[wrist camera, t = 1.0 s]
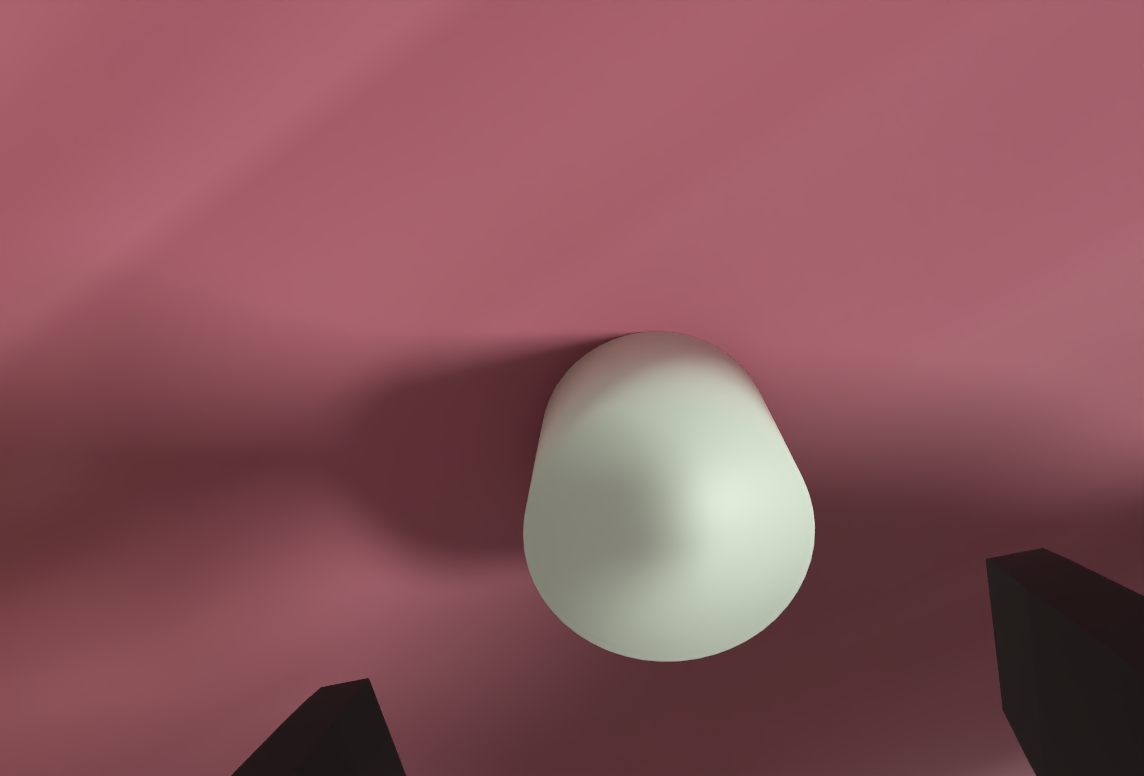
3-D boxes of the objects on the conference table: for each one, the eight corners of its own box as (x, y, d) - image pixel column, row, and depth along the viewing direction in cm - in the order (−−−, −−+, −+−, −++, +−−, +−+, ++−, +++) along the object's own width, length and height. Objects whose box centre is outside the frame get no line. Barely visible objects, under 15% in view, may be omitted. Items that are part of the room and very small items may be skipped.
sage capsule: (746, 306, 16) (788, 372, 13) (787, 517, 18) (836, 633, 14) (515, 360, 17) (489, 438, 13) (572, 560, 18) (562, 683, 15)
